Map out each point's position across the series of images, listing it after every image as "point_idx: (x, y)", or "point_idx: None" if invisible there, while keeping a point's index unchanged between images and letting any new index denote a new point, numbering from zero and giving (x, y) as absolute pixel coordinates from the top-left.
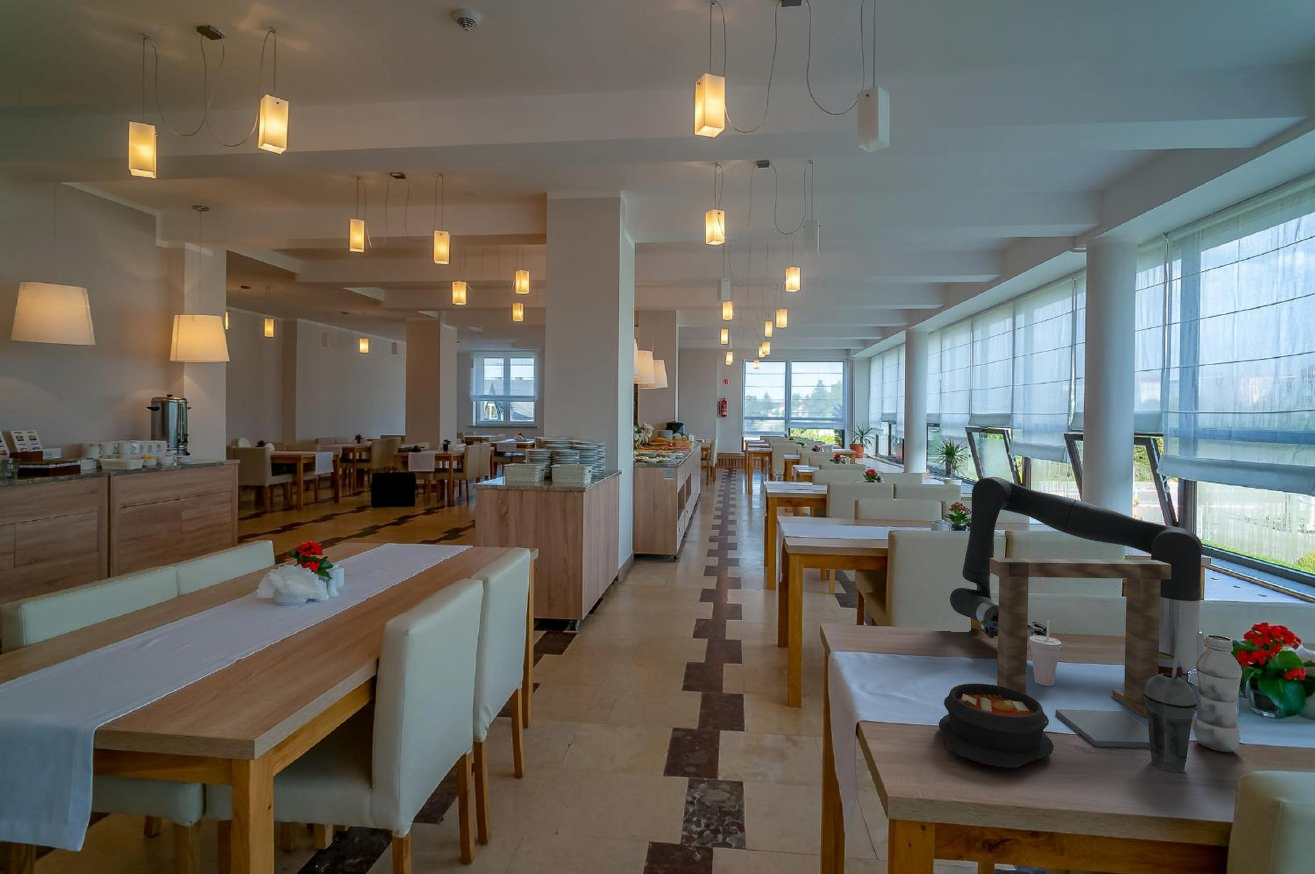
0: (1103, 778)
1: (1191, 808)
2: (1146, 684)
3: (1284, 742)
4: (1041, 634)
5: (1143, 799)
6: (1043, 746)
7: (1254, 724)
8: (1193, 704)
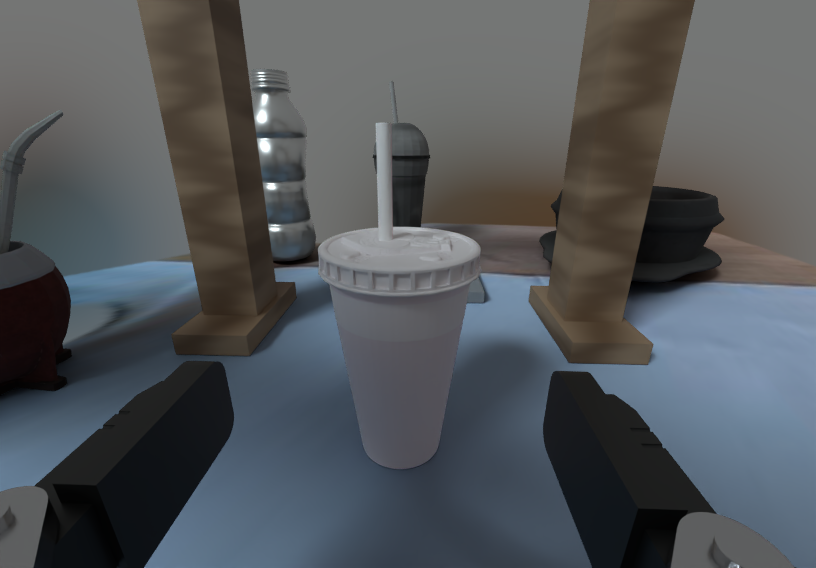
0: (495, 238)
1: (438, 226)
2: (423, 142)
3: (159, 265)
4: (163, 446)
5: (474, 229)
6: (555, 235)
7: (104, 287)
8: None
